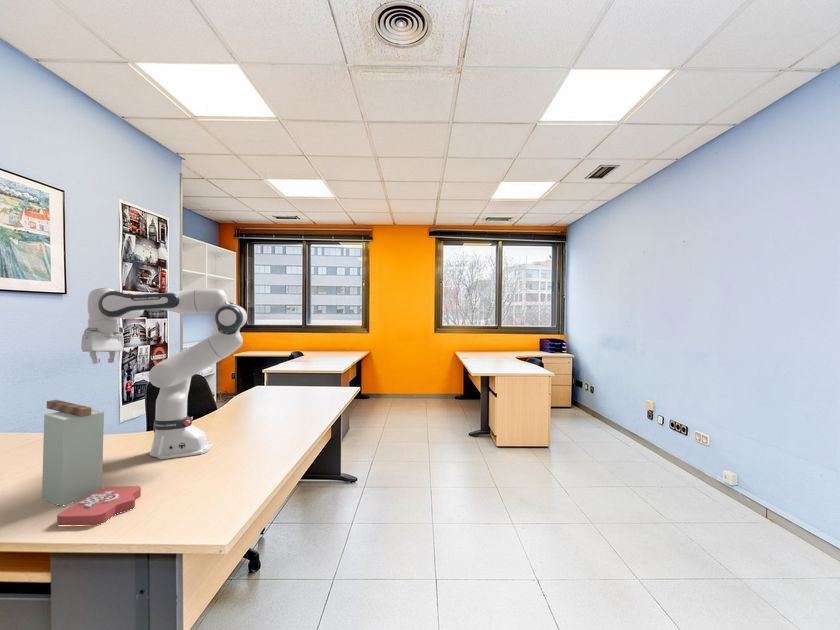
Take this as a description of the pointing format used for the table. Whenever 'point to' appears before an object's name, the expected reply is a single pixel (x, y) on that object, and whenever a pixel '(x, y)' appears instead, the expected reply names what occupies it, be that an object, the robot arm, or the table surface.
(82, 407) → the rod
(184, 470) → the table surface
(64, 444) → the pedestal
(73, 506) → the plaque
